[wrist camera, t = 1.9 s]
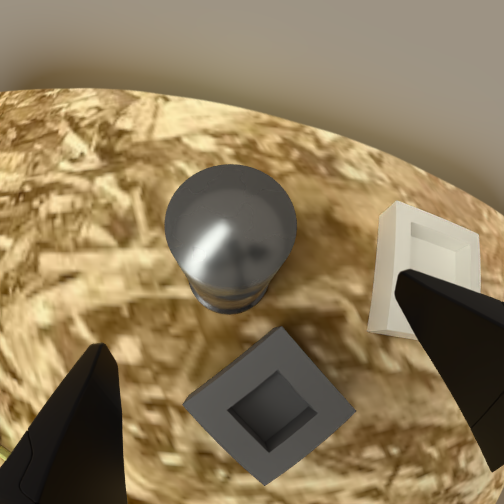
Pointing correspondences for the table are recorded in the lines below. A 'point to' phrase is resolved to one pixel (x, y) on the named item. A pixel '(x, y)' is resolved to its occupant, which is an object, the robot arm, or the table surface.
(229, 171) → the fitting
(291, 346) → the block
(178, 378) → the table surface
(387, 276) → the tray
